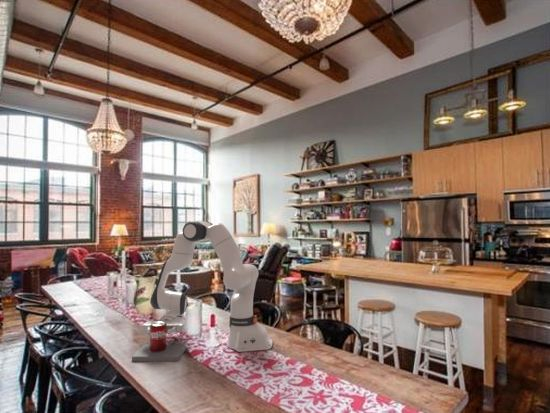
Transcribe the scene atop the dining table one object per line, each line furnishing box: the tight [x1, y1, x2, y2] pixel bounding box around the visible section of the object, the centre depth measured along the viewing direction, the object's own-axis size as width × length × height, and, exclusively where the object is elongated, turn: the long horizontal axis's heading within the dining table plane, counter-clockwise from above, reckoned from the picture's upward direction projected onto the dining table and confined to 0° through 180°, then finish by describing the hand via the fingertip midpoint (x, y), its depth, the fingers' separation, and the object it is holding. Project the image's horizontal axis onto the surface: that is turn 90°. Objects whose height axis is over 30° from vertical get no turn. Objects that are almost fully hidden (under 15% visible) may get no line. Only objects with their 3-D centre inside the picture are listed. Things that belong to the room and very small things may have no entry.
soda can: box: [149, 320, 168, 353], centre depth 149 cm, size 7×7×12 cm
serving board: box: [131, 343, 187, 362], centre depth 148 cm, size 20×14×2 cm
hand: (158, 332), depth 149 cm, fingers open, 8 cm apart
